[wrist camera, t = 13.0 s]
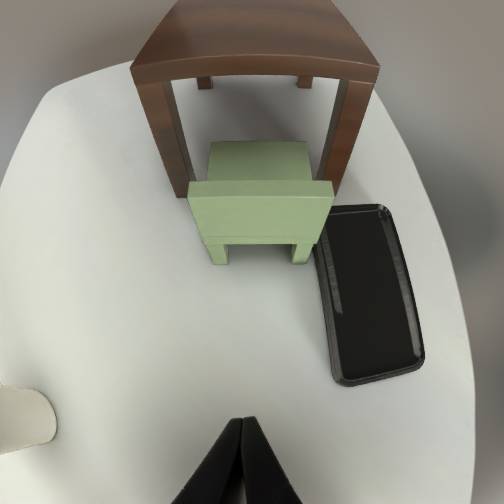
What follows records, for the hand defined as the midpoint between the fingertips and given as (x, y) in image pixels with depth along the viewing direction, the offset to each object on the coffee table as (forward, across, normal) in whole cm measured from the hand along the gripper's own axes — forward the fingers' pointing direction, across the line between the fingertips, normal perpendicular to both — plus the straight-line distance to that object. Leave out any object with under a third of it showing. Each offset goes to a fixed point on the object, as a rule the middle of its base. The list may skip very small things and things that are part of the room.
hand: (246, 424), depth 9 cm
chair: (+19, -2, -4) cm, 19 cm away
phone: (+15, -9, +3) cm, 17 cm away
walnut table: (+27, -3, -13) cm, 30 cm away
